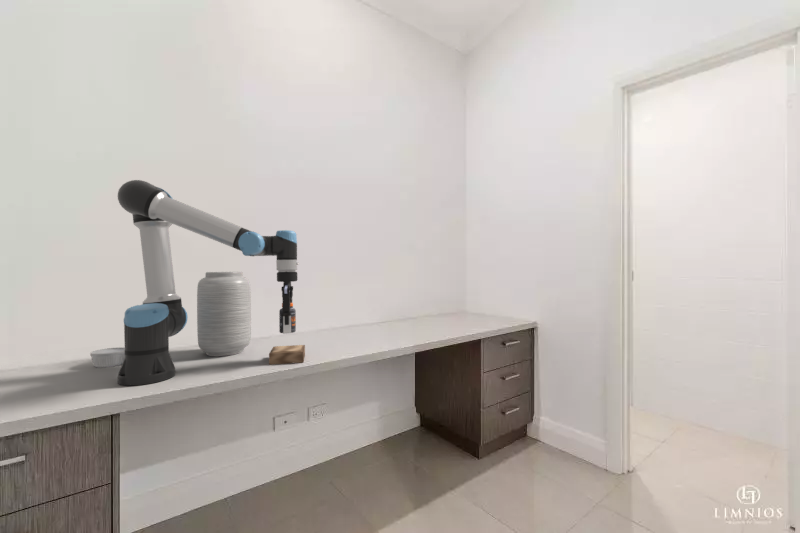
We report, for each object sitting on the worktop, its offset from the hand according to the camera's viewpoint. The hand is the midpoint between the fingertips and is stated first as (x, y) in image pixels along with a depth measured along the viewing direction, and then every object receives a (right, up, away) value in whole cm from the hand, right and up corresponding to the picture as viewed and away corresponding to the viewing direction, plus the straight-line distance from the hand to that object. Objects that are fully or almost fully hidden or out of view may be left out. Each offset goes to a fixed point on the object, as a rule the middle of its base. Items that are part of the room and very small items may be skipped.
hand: (288, 331), depth 140 cm
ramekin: (-64, -12, -4) cm, 66 cm away
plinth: (0, -11, 0) cm, 11 cm away
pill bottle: (0, 0, 0) cm, 1 cm away
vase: (-30, -11, +13) cm, 35 cm away
